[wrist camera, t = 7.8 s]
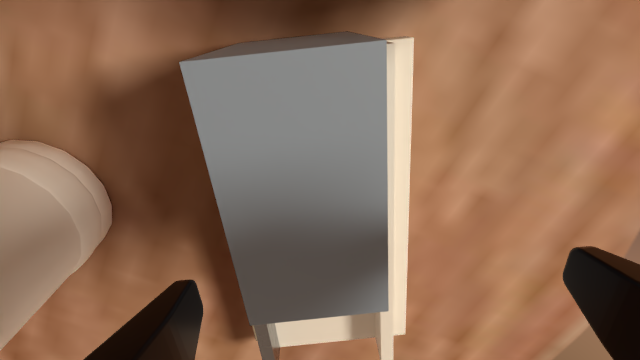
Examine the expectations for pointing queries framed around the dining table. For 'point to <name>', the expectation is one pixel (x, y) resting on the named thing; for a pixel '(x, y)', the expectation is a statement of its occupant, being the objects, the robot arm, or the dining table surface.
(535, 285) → the dining table surface
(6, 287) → the bottle
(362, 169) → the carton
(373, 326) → the shelf
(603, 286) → the robot arm
